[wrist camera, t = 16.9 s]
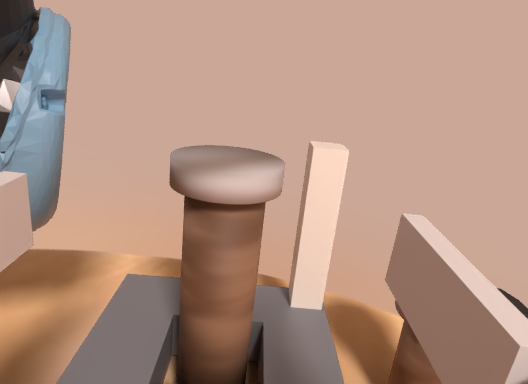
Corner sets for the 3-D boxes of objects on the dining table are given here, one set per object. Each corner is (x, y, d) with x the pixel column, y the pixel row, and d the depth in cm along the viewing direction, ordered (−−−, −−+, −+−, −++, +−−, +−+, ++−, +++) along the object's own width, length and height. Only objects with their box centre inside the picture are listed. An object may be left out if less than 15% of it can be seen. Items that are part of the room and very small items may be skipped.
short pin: (359, 415, 25) (387, 295, 22) (387, 363, 30) (413, 260, 27) (459, 474, 22) (506, 343, 19) (473, 405, 27) (512, 293, 24)
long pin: (143, 398, 24) (145, 152, 19) (207, 349, 29) (222, 141, 24) (213, 456, 21) (237, 181, 16) (273, 390, 26) (305, 162, 21)
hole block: (10, 523, 17) (-41, 187, 12) (128, 309, 32) (126, 121, 28) (358, 545, 18) (443, 233, 13) (314, 325, 33) (345, 143, 28)
